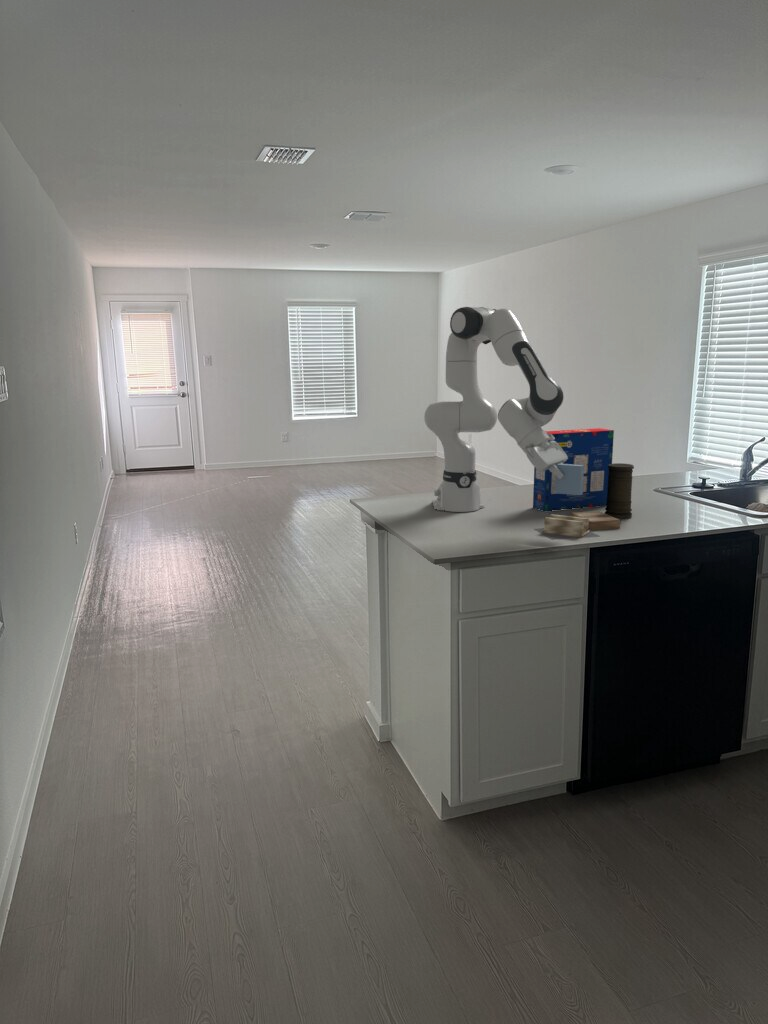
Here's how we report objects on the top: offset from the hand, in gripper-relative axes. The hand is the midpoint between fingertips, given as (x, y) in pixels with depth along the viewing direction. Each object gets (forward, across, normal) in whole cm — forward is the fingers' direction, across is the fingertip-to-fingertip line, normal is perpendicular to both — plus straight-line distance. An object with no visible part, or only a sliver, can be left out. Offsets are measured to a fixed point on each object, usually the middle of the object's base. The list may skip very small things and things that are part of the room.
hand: (564, 476), depth 218 cm
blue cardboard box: (+5, +41, +20) cm, 46 cm away
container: (+18, +33, +6) cm, 38 cm away
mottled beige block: (+13, 0, +12) cm, 18 cm away
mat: (+14, 0, +12) cm, 18 cm away
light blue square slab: (+5, 0, +3) cm, 5 cm away
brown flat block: (+16, +16, +9) cm, 24 cm away
